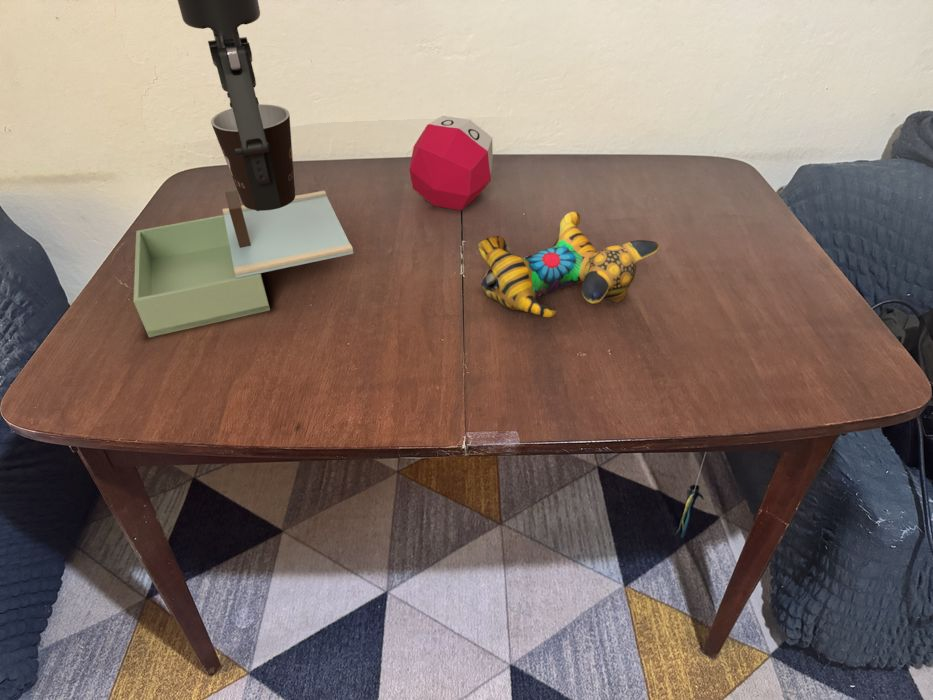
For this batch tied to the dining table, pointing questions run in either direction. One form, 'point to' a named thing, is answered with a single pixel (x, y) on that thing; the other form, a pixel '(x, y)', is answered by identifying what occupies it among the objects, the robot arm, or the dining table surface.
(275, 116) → the coffee mug
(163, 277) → the green open storage box
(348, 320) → the dining table surface
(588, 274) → the dog figurine
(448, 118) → the decorative object
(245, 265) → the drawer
